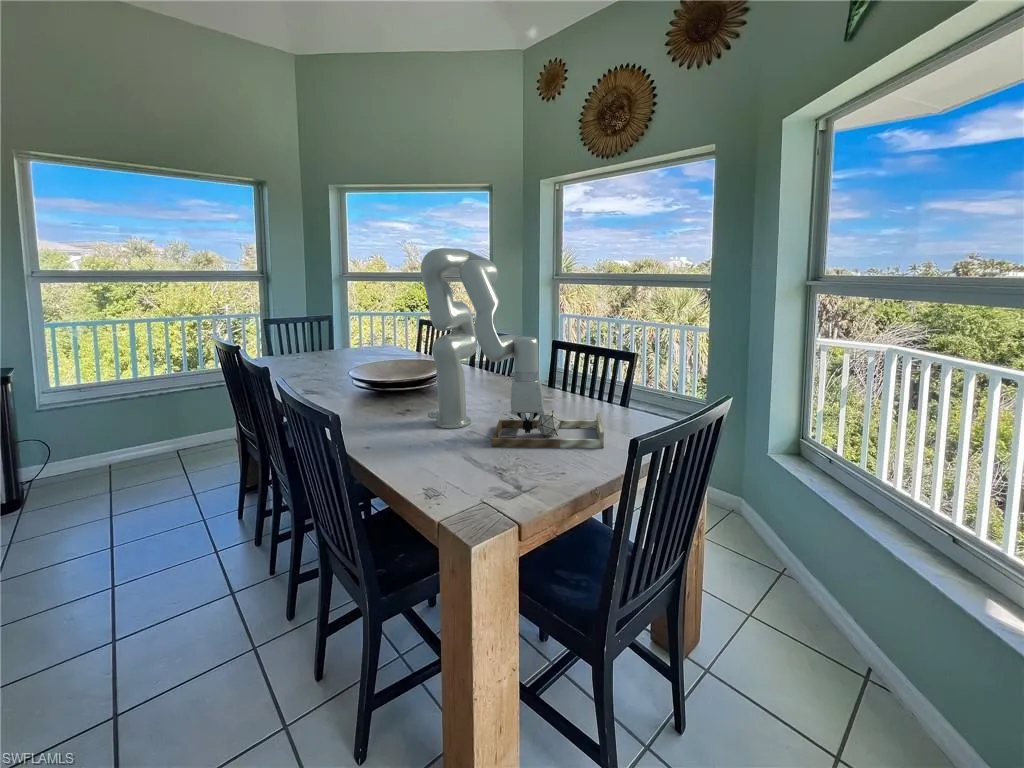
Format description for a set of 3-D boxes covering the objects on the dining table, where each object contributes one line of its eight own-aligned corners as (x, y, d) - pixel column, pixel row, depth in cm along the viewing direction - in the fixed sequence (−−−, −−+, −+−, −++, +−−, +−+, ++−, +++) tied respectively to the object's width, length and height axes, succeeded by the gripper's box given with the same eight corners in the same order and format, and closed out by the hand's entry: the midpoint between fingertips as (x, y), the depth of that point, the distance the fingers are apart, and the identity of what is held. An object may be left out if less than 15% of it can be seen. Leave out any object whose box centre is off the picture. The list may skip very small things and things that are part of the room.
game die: (553, 447, 162) (563, 429, 155) (528, 438, 162) (537, 420, 155) (558, 427, 168) (568, 409, 161) (535, 418, 168) (543, 399, 161)
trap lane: (491, 446, 154) (490, 431, 153) (499, 426, 173) (499, 412, 172) (603, 448, 150) (603, 432, 149) (599, 427, 170) (599, 413, 168)
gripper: (501, 379, 155) (503, 435, 159) (550, 379, 153) (550, 435, 158) (504, 374, 162) (506, 428, 167) (550, 373, 161) (551, 428, 165)
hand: (527, 431), depth 162 cm, fingers closed
